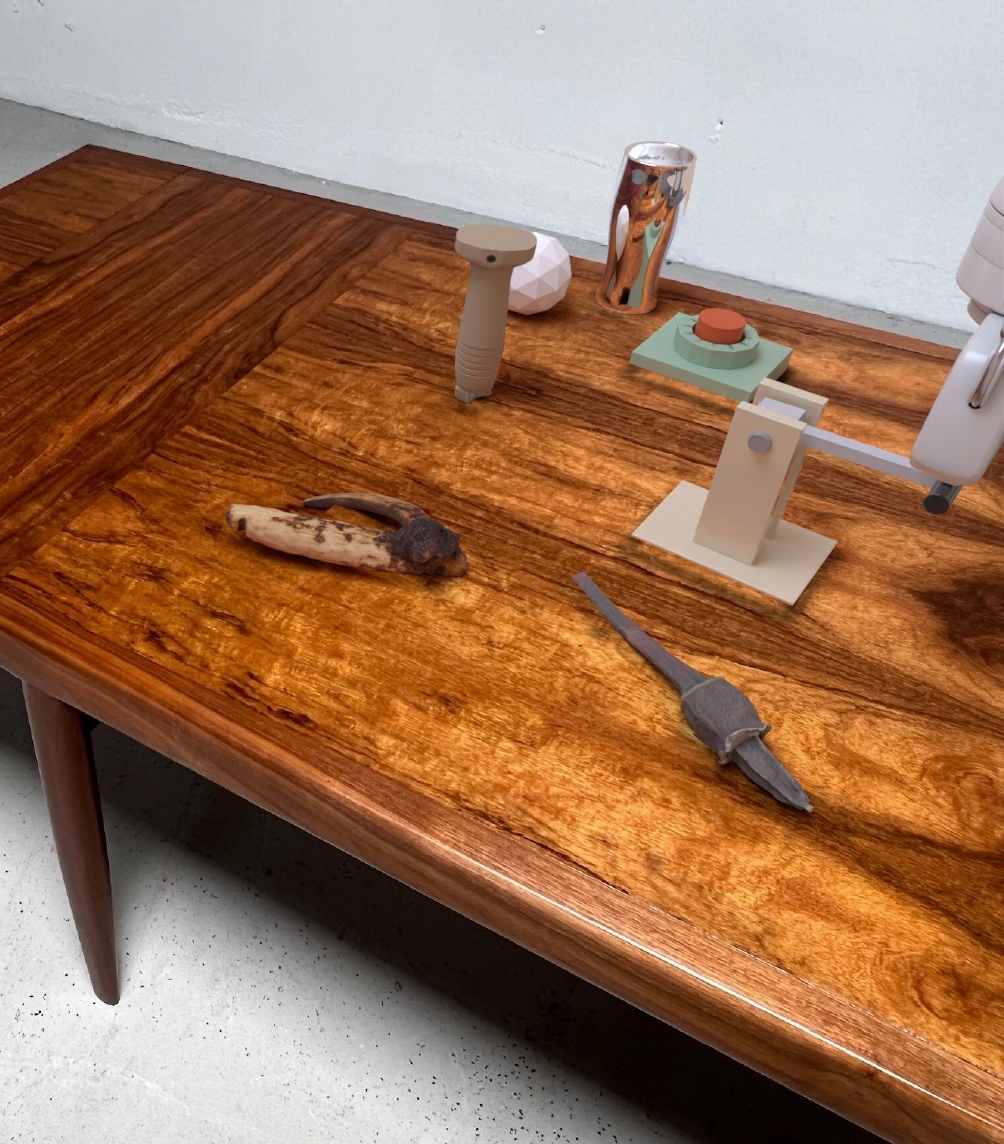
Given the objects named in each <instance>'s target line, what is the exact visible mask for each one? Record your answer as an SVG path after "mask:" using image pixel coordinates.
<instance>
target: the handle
mask: <svg viewBox="0 0 1004 1144" xmlns="http://www.w3.org/2000/svg"><path fill="white" fill-rule="evenodd" d="M536 245H537V238H536V236H535V235H534V234H533V233H532V232H530V231H527V230H524V229H521V228H517V227H513V226H508V225H500V224H489V223H486V224H485V223H482V224H481V223H480V224H468V225H467V224H466V225H464V226H461V227H460V228H458V229H457V231H456V233H455V241H454V250H455V253H456V254H457V255H458V256H459V257H460V258H462V259H463V260H465V261H466V262H468V263H469V264H470V271H469V272H470V274H469V278H468V285H467V288H466V289H467V290H466V296H465V300H464V305H463V311H462V314H461V318H460V319H461V320H460V325H459V329H458V334H457V340H456V347H455V360H454V375H455V377H454V378H455V381H456V385H454V397H455V398H456V400H457V401H460V402H464V403H465V404H466V405H468V404H469V403H471V402H472V401H473V400H475V399H477V398H482V397H483V398H484V397H490V396H491V395H492V389H493V388H494V385H495V382H496V380H497V378H498V374H499V371H500V368H501V363H502V359H503V355H504V348H505V341H506V332H507V322H508V311H509V310H508V301H509V292H510V283H511V277H512V273H513V269H514V268H515V267H517V266H521V265H524V264H526V263H528V262H529V261H531V260H532V259H533V257H534V254H535V250H536Z"/></svg>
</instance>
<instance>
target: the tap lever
mask: <svg viewBox="0 0 1004 1144" xmlns="http://www.w3.org/2000/svg"><path fill="white" fill-rule="evenodd" d="M758 406H759V407H762V408H765V409H768V410H770V411H773V412H776V413H779V414H782V415H785V416H788V417H790V418H793V419H796V420H799V421H802V422H803V420H804V417H805V414H806V410H804V409H801V408H798V407H795V406H792V405H789V404H786V403H782V402H779V401H776V400H773V399H770V398H767V397H765V398H764V399H763V400H762V401H761V402H760V404H759V405H758ZM800 445H803V446H806V447H809V448H810V449H813V450H815V451H819V452H821V453H824V454H827V455H830V456H833V457H835V458H839V459H842V460H845V461H848V462H850V463H854V464H857V465H860V466H863V467H866V468H869V469H871V470H874V471H878V472H881V473H883V474H886V475H890V476H893V477H896V478H899V479H902V480H904V481H907V482H910V483H914V484H916V485H920V486H921V487H925V488H928V489H929V491H928V492H927V494H926V495H925V497H924V498H923V501H922V506H923V508H924V510H925V511H926V512H927V513H929V514H930V515H935V516H940V515H944V514H946V513H947V512H948V511H949V509H950V508H951V506H952V505H953V503H954V502H955V500H956V498H957V497H958V495H959V493H960V492H961V490H962V489H963V487H964V486H962V485H960V486H953V485H950V484H947V483H944V482H941V481H939V480H936V479H935V478H934V477H933V475H930V474H927V473H925V472H922V471H920V470H917V469H915V468H914V467H912V466H911V464H910V457H907V456H905V455H901V454H898V453H895V452H892V451H889V450H886V449H883V448H880V447H877V446H873V445H871V444H867V443H865V442H861V441H858V440H856V439H852V438H849V437H847V436H843V435H840V434H837V433H834V432H831V431H828V430H825V429H821V428H819V427H818V428H816V427H813V426H809V425H807V428H806V430H805V433H804V435H803V438H802V441H801V443H800Z"/></svg>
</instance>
